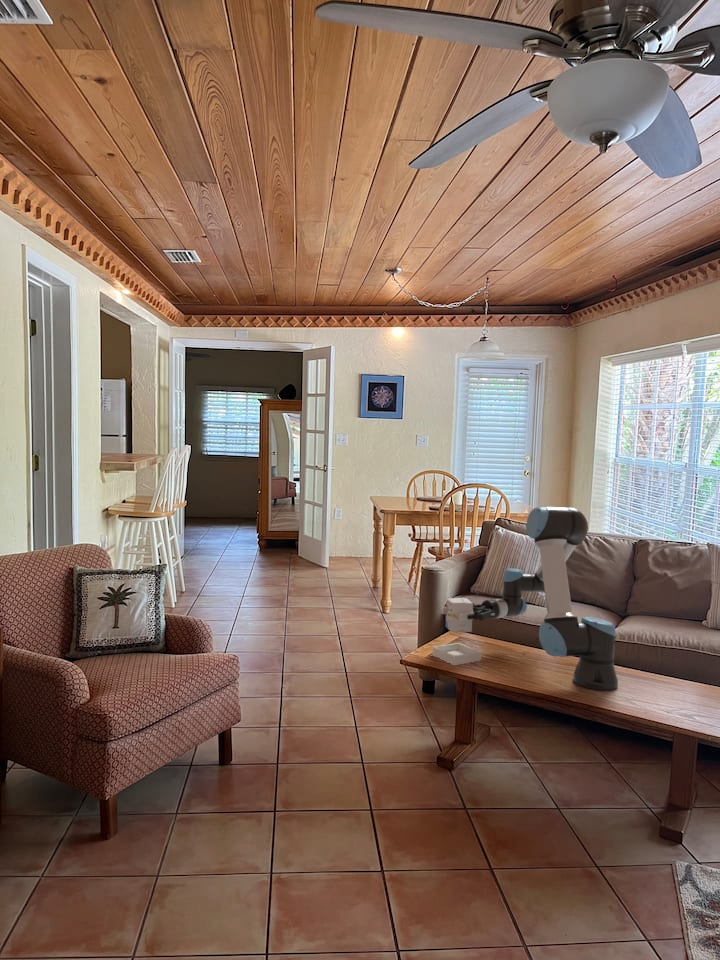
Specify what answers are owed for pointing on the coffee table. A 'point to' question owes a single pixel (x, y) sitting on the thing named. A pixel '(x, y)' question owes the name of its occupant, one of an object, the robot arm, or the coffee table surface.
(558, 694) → the coffee table surface
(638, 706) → the coffee table surface
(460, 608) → the ink box
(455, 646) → the open white box
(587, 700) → the coffee table surface
